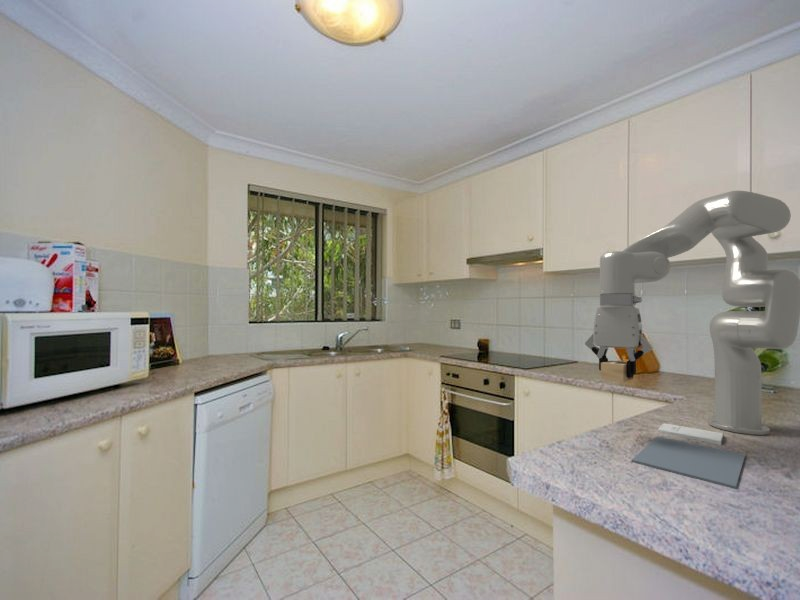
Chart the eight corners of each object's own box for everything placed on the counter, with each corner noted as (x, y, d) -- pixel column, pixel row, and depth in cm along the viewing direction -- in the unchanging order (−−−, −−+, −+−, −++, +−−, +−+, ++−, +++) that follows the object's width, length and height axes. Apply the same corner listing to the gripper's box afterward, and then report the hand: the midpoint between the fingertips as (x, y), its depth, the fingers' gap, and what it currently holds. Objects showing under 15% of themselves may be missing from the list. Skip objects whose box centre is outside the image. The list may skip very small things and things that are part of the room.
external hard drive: (721, 447, 89) (658, 434, 98) (723, 439, 95) (663, 428, 104) (721, 440, 89) (658, 428, 98) (723, 432, 95) (663, 422, 104)
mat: (657, 438, 93) (657, 436, 93) (745, 456, 82) (745, 454, 82) (631, 461, 78) (631, 459, 78) (735, 488, 66) (735, 486, 66)
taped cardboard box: (611, 376, 98) (611, 359, 98) (633, 378, 94) (633, 361, 94) (600, 379, 93) (600, 361, 93) (623, 382, 90) (623, 364, 90)
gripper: (661, 302, 91) (661, 378, 90) (586, 302, 103) (586, 370, 102) (653, 301, 86) (654, 382, 85) (575, 301, 98) (575, 372, 97)
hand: (617, 374), depth 94 cm, fingers closed on taped cardboard box, 5 cm apart
